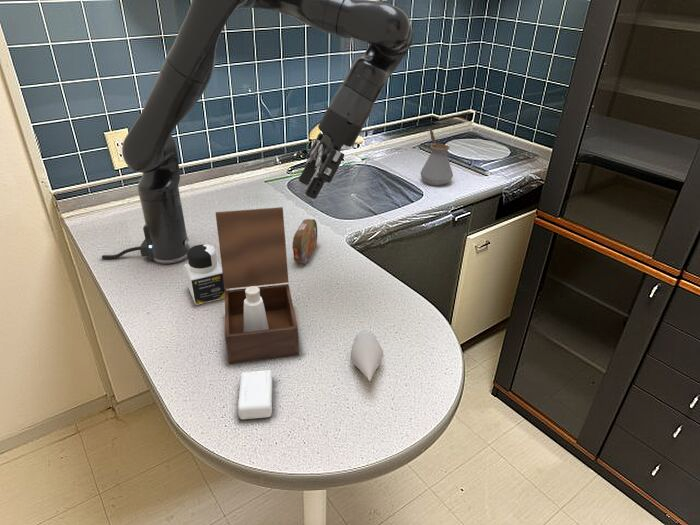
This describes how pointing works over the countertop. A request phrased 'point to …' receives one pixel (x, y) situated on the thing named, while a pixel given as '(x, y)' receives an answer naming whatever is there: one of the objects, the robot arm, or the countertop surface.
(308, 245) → the tin
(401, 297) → the countertop surface
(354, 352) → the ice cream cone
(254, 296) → the pepper shaker
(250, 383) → the soap
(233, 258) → the lid
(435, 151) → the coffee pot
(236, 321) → the box
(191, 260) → the medicine bottle
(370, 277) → the countertop surface
